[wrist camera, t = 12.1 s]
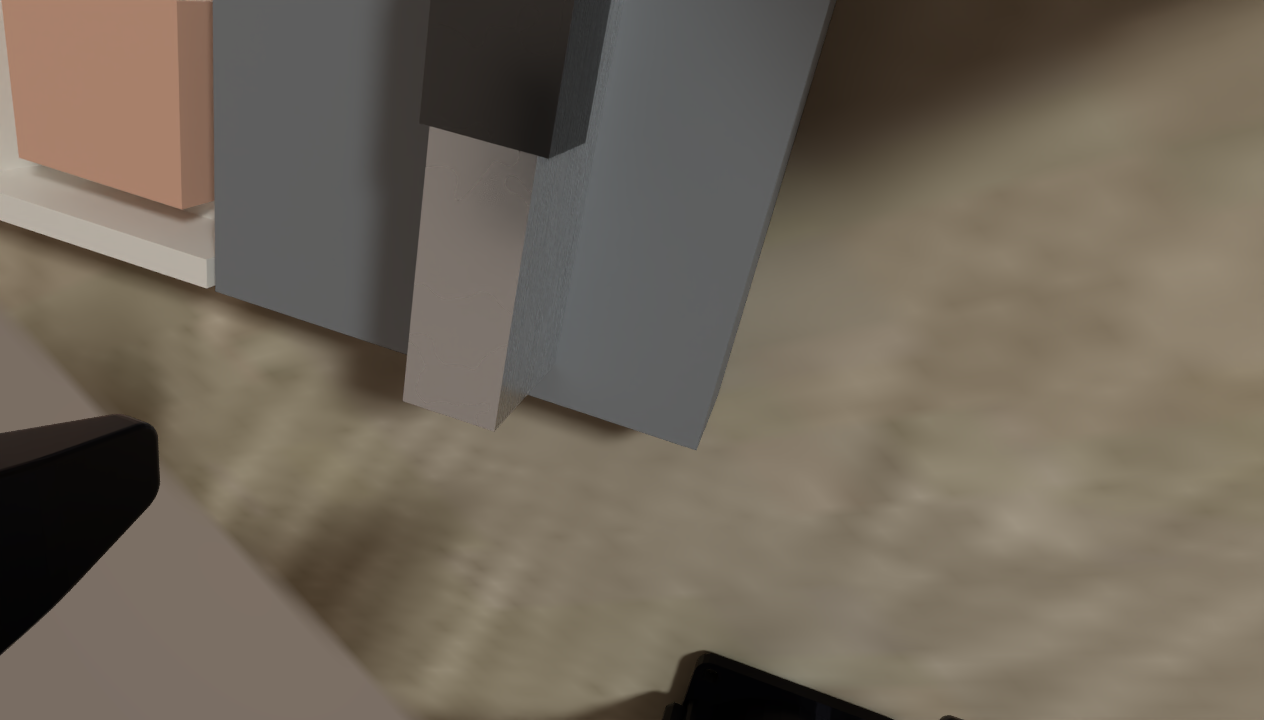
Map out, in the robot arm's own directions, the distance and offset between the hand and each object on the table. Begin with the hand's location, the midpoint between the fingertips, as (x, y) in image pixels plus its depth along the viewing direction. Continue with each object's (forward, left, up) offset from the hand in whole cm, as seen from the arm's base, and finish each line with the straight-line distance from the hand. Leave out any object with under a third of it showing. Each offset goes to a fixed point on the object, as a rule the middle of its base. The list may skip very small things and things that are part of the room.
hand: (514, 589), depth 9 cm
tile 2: (+16, -1, -12) cm, 20 cm away
